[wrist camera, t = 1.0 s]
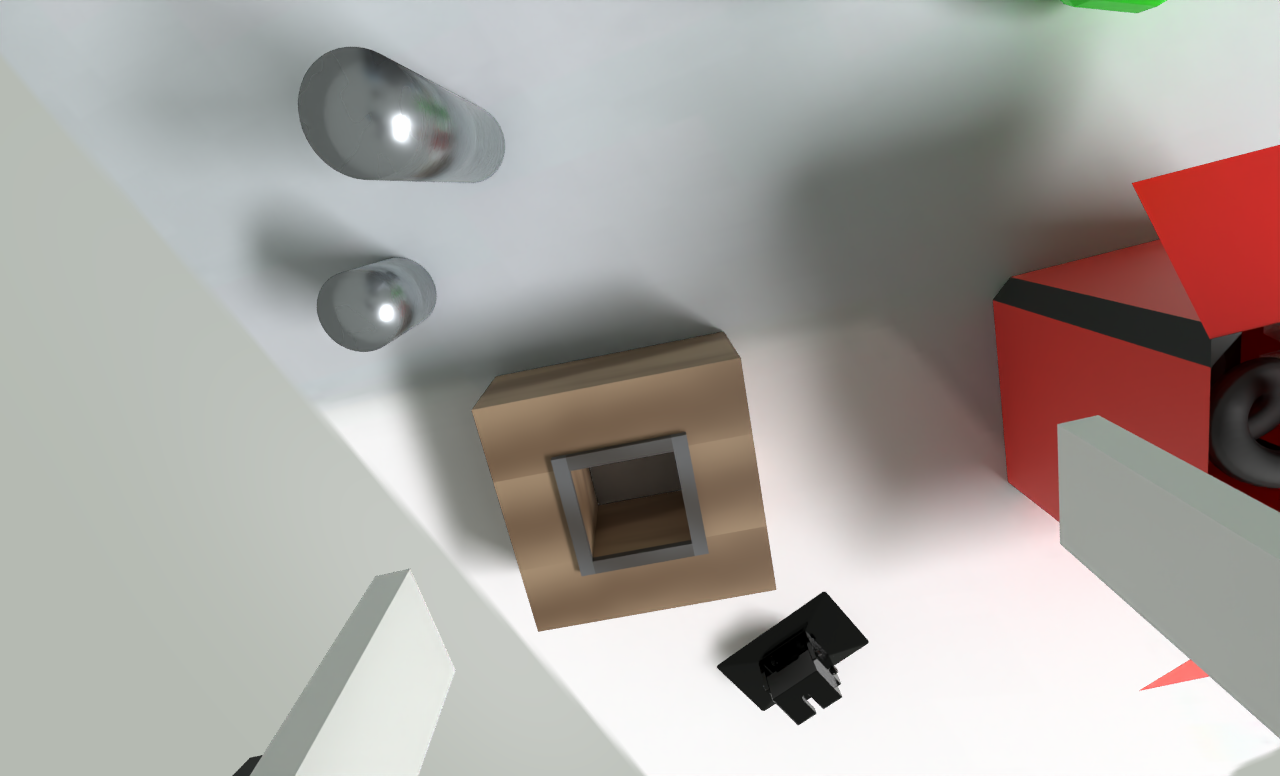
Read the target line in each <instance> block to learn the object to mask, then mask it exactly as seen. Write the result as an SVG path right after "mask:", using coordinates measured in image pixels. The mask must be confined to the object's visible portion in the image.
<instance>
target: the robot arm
mask: <svg viewBox="0 0 1280 776" xmlns="http://www.w3.org/2000/svg"><path fill="white" fill-rule="evenodd" d="M1057 434H1058V474H1059V515H1060V544H1061V545H1062V546H1063V547H1064V548H1065V549H1067V550H1068V551H1069V552H1070V553H1071V554H1072V555H1073V556H1074V557H1076V558H1077V559H1078V560H1079V561H1080V562H1081V563H1082V564H1083V565H1085V566H1086V567H1087V568H1088V569H1089V570H1090V571H1091V572H1092V573H1094V574H1095V575H1096V576H1097V577H1098V578H1099V579H1100V580H1101V581H1103V582H1104V583H1105V584H1106V585H1107V586H1108V587H1109V588H1111V589H1112V590H1113V591H1114V592H1115V593H1116V594H1117V595H1118V596H1120V597H1121V598H1122V599H1123V600H1124V601H1125V602H1126V603H1127V604H1129V605H1130V606H1131V607H1132V608H1133V609H1134V610H1135V611H1136V612H1138V613H1139V614H1140V615H1141V616H1142V617H1143V618H1144V619H1145V620H1147V621H1148V622H1149V623H1150V624H1151V625H1152V626H1153V627H1154V628H1156V629H1157V630H1158V631H1159V632H1160V633H1161V634H1162V635H1164V636H1165V637H1166V638H1167V639H1168V640H1169V641H1170V642H1171V643H1173V644H1174V645H1175V646H1176V647H1177V648H1178V649H1179V650H1180V651H1182V652H1183V653H1184V654H1185V655H1186V656H1187V657H1188V658H1189V659H1191V660H1192V661H1193V662H1194V663H1195V664H1196V665H1197V666H1198V667H1200V668H1201V669H1202V670H1203V671H1204V672H1205V673H1206V674H1207V675H1209V676H1210V677H1211V678H1212V679H1213V680H1214V681H1215V682H1216V683H1218V684H1219V685H1220V686H1221V687H1222V688H1223V689H1224V690H1226V691H1227V692H1228V693H1229V694H1230V695H1231V696H1232V697H1233V698H1235V699H1236V700H1237V701H1238V702H1239V703H1240V704H1241V705H1242V706H1244V707H1245V708H1246V709H1247V710H1248V711H1249V712H1250V713H1251V714H1253V715H1254V716H1255V717H1256V718H1257V719H1258V720H1259V721H1260V722H1262V723H1263V724H1264V725H1265V726H1266V727H1267V728H1268V729H1269V730H1271V731H1272V732H1273V733H1274V734H1275V735H1276V736H1277V737H1279V738H1280V512H1278V511H1276V510H1274V509H1272V508H1271V507H1269V506H1267V505H1265V504H1263V503H1261V502H1259V501H1258V500H1256V499H1254V498H1252V497H1250V496H1248V495H1246V494H1244V493H1243V492H1241V491H1239V490H1237V489H1235V488H1233V487H1231V486H1230V485H1228V484H1226V483H1224V482H1222V481H1220V480H1218V479H1217V478H1215V477H1213V476H1211V475H1209V474H1207V473H1205V472H1203V471H1202V470H1200V469H1198V468H1196V467H1194V466H1192V465H1190V464H1189V463H1187V462H1185V461H1183V460H1181V459H1179V458H1177V457H1176V456H1174V455H1172V454H1170V453H1168V452H1166V451H1164V450H1162V449H1161V448H1159V447H1157V446H1155V445H1153V444H1151V443H1149V442H1148V441H1146V440H1144V439H1142V438H1140V437H1138V436H1136V435H1135V434H1133V433H1131V432H1129V431H1127V430H1125V429H1123V428H1121V427H1120V426H1118V425H1116V424H1114V423H1112V422H1110V421H1108V420H1107V419H1105V418H1103V417H1101V416H1099V415H1096V416H1092V417H1087V418H1083V419H1078V420H1074V421H1069V422H1065V423H1060V424H1057ZM454 673H455V668H454V666H453V664H452V661H451V659H450V657H449V655H448V652H447V650H446V648H445V646H444V643H443V641H442V639H441V637H440V634H439V632H438V630H437V628H436V625H435V623H434V621H433V619H432V617H431V614H430V612H429V610H428V608H427V605H426V603H425V601H424V599H423V596H422V594H421V592H420V590H419V588H418V585H417V583H416V581H415V578H414V576H413V574H412V572H411V569H406V570H402V571H397V572H393V573H388V574H384V575H379V576H375V578H374V580H373V581H372V583H371V584H370V586H369V587H368V589H367V590H366V592H365V594H364V595H363V597H362V598H361V600H360V602H359V603H358V605H357V606H356V608H355V609H354V611H353V613H352V614H351V616H350V618H349V619H348V621H347V622H346V624H345V626H344V627H343V629H342V630H341V632H340V633H339V635H338V637H337V638H336V640H335V642H334V643H333V644H332V646H331V648H330V649H329V651H328V652H327V654H326V656H325V657H324V659H323V660H322V662H321V664H320V665H319V667H318V668H317V670H316V671H315V673H314V675H313V676H312V678H311V680H310V681H309V683H308V684H307V686H306V687H305V689H304V690H303V692H302V694H301V695H300V697H299V698H298V700H297V702H296V703H295V705H294V706H293V708H292V709H291V711H290V713H289V714H288V716H287V718H286V720H285V721H284V722H283V724H282V725H281V727H280V729H279V730H278V732H277V733H276V735H275V736H274V738H273V740H272V741H271V743H270V744H269V746H268V748H267V749H266V751H265V752H264V754H263V755H261V756H257V757H252V758H249V760H247V762H245V763H244V765H243V766H242V767H241V768H240V769H239V770H238V771H237V772H236V773H235V774H234V775H233V776H418V775H419V772H420V770H421V767H422V764H423V761H424V758H425V755H426V753H427V749H428V747H429V744H430V741H431V738H432V735H433V733H434V730H435V727H436V724H437V721H438V718H439V716H440V713H441V710H442V707H443V704H444V702H445V699H446V696H447V693H448V690H449V687H450V685H451V682H452V679H453V676H454Z"/></svg>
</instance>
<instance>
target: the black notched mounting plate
mask: <svg viewBox="0 0 1280 776" xmlns="http://www.w3.org/2000/svg"><path fill="white" fill-rule="evenodd" d="M868 642H869V641H868V640H867V639H866V638H865V636H864V635H863V634H862V633H861V632H860V631H859V629H858V628H857V627H856V626H855V625H854V624H853V623H852V621H851V620H850V619H849V618H848V617H847V616H846V615H845V613H844V612H843V611H842V610H841V609H840V608H839V606H838V605H837V604H836V603H835V602H834V601H833V600H832V598H831V597H830V596H829V595H828V594H827V593H826V592H822V593H821V594H819V595H818V596H816V597H815V598H814V599H812V600H811V601H809V602H808V603H806V604H805V605H804V606H802V607H801V608H799V609H798V610H796V611H795V612H793V613H792V614H791V615H789V616H788V617H786V618H785V619H783V620H782V621H781V622H779V623H778V624H776V625H775V626H773V627H772V628H771V629H769V630H768V631H766V632H765V633H763V634H762V635H760V636H759V637H758V638H756V639H755V640H753V641H752V642H750V643H749V644H748V645H746V646H745V647H743V648H742V649H740V650H739V651H737V652H736V653H735V654H733V655H732V656H730V657H729V658H727V659H726V660H725V661H723V662H722V663H720V664H719V665H718V666H717V668H718V669H719V670H720V671H721V672H722V673H723V674H724V675H725V676H726V677H727V678H728V679H729V680H730V681H732V682H733V683H734V684H735V685H736V686H737V687H738V688H739V689H740V690H741V691H742V692H743V693H744V694H745V695H746V696H747V697H748V698H749V699H751V700H752V701H753V702H754V703H755V704H756V705H757V706H758V707H759V708H760V709H761V710H762V711H765V710H767V709H768V708H770V707H771V706H773V705H774V704H777V705H778V706H779V707H780V708H781V709H782V710H783V711H784V712H785V713H786V714H787V715H788V716H789V717H790V718H791V719H792V720H793V721H794V722H795V723H796V724H797V725H800V724H801V723H803V722H804V721H806V720H807V719H809V718H811V717H812V716H814V715H815V714H816V711H815V708H814V707H813V706H812V705H811V704H810V703H809V702H808V701H807V700H808V699H809V698H811V697H812V698H813V699H814V700H815V701H816V702H817V703H818V704H819V705H820V706H821V707H822V708H823V709H825V708H826V707H828V706H829V705H831V704H832V703H834V702H835V701H837V700H839V699H840V698H842V695H841V693H840V690H839V688H838V686H839V685H840V684H841V682H840V680H839V677H838V675H837V673H838V670H837V668H836V667H835V666H834V665H836V664H837V663H839V662H840V661H842V660H843V659H845V658H846V657H848V656H849V655H851V654H853V653H854V652H856V651H857V650H859V649H860V648H862V647H863V646H865V645H866V644H868Z"/></svg>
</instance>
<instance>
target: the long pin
mask: <svg viewBox="0 0 1280 776" xmlns="http://www.w3.org/2000/svg"><path fill="white" fill-rule="evenodd" d="M298 112H299V118H300V122H301V126H302V129H303V132H304V134H305V136H306V138H307V140H308V142H309V144H310V145H311V147H312V148H313V150H314V151H315V152H316V154H317V155H318V156H319V157H320V158H321V159H322V160H323V161H324V162H325V163H326V164H328V165H329V166H330V167H332V168H333V169H335V170H336V171H338V172H340V173H342V174H344V175H347V176H349V177H353V178H356V179H363V180H391V181H423V182H455V183H476V182H481V181H484V180H486V179H488V178H489V177H491V176H492V175H493V174H494V173H495V172H496V171H497V170H498V168H499V167H500V165H501V163H502V160H503V157H504V153H505V141H504V136H503V133H502V130H501V128H500V126H499V124H498V122H497V121H496V120H495V118H494V117H493V116H492V115H491V114H490V113H488V112H487V111H486V110H484V109H482V108H481V107H479V106H477V105H475V104H473V103H471V102H469V101H467V100H466V99H464V98H462V97H460V96H458V95H456V94H454V93H453V92H451V91H449V90H447V89H445V88H443V87H441V86H439V85H438V84H436V83H434V82H432V81H430V80H428V79H426V78H424V77H423V76H421V75H419V74H417V73H415V72H413V71H411V70H409V69H408V68H406V67H404V66H402V65H400V64H398V63H396V62H394V61H393V60H391V59H389V58H387V57H385V56H383V55H381V54H379V53H377V52H375V51H372V50H369V49H365V48H359V47H344V48H338V49H335V50H332V51H330V52H328V53H326V54H324V55H323V56H321V57H320V58H318V59H317V60H316V61H315V62H314V63H313V64H312V65H311V67H310V68H309V69H308V71H307V73H306V74H305V76H304V78H303V81H302V83H301V87H300V91H299V98H298Z"/></svg>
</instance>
